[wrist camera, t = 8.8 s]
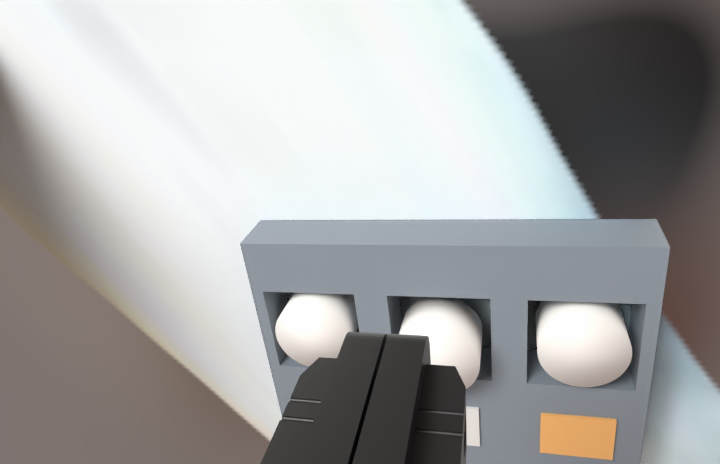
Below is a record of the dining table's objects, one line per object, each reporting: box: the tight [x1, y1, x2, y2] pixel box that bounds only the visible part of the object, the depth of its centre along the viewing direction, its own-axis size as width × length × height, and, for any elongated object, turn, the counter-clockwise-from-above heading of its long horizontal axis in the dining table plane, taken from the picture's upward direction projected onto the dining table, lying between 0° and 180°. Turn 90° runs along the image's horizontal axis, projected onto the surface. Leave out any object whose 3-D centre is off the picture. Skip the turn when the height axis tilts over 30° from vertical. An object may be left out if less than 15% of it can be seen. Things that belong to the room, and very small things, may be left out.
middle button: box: [399, 297, 483, 389], centre depth 31 cm, size 5×5×3 cm
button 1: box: [275, 293, 358, 367], centre depth 34 cm, size 5×5×3 cm
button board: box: [240, 219, 670, 464], centre depth 34 cm, size 22×16×3 cm
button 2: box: [536, 301, 632, 387], centre depth 30 cm, size 5×5×3 cm
